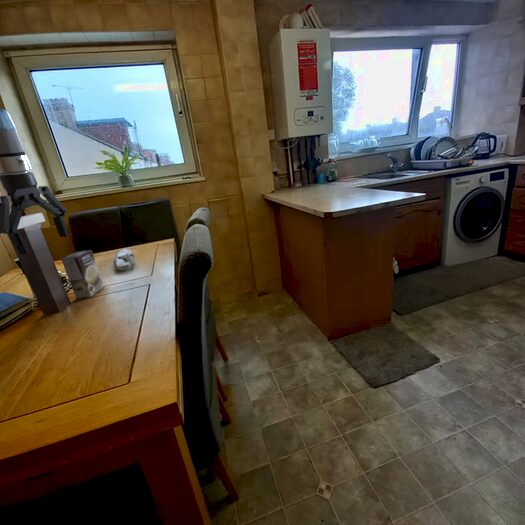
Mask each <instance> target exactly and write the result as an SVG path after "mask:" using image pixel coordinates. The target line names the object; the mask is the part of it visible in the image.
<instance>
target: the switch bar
mask: <svg viewBox="0 0 525 525" xmlns="http://www.w3.org/2000/svg"><path fill="white" fill-rule="evenodd" d="M45 222H46V219H45V217H44V214H43V213H42V212H36V213H31V214H27V215H23V216H21V219H20V222H19V225H18V228H17V229H20V228H24V227H27V226H31V225H34V224H42V223H45ZM0 235H2V233H0Z"/></svg>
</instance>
